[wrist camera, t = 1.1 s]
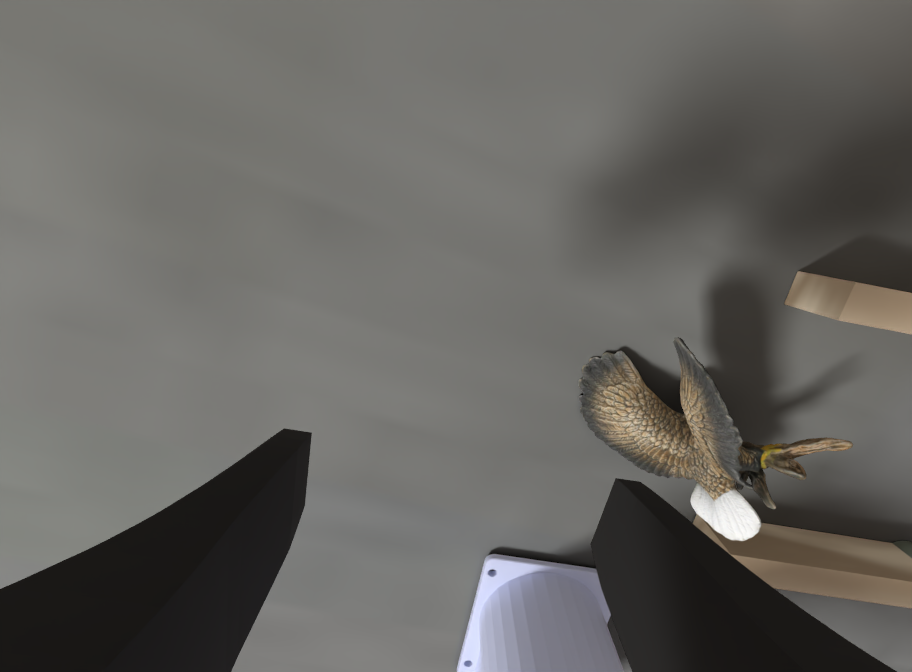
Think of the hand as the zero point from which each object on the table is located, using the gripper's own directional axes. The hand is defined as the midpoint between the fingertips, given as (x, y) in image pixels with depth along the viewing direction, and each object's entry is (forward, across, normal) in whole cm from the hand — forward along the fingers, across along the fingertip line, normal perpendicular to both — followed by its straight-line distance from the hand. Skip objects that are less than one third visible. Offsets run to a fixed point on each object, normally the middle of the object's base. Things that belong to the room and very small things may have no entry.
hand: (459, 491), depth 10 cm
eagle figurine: (+11, -12, +2) cm, 16 cm away
